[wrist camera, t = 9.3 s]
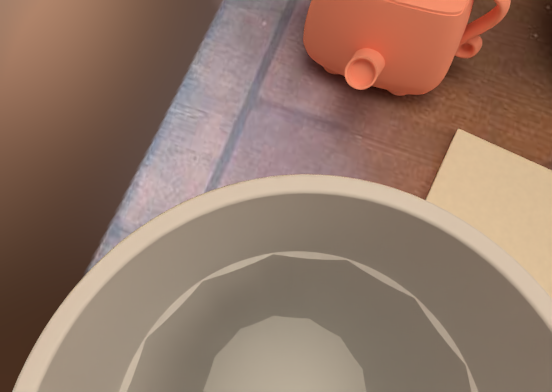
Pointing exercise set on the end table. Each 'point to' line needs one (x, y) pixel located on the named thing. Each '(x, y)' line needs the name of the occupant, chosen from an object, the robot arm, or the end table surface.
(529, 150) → the end table surface
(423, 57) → the teapot
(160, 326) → the cup
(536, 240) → the napkin
